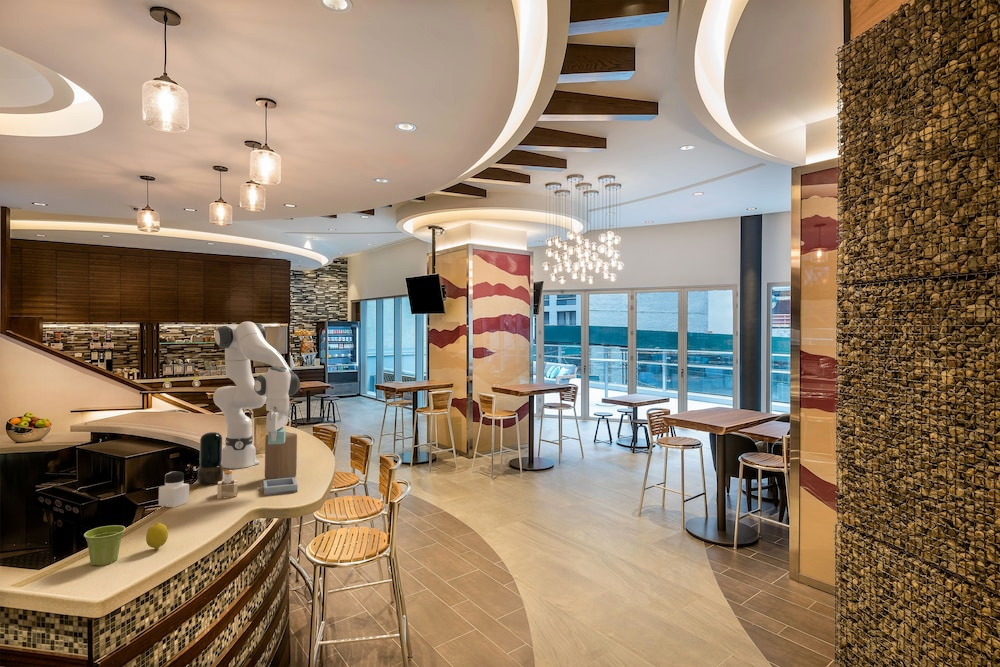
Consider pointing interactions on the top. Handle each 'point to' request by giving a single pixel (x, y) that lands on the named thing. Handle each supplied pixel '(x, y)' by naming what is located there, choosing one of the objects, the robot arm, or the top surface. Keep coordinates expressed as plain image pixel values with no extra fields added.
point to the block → (281, 458)
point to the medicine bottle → (174, 490)
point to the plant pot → (104, 544)
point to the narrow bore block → (280, 437)
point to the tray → (279, 486)
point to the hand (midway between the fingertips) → (276, 438)
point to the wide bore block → (227, 489)
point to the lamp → (210, 459)
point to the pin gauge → (227, 476)
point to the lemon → (157, 535)
